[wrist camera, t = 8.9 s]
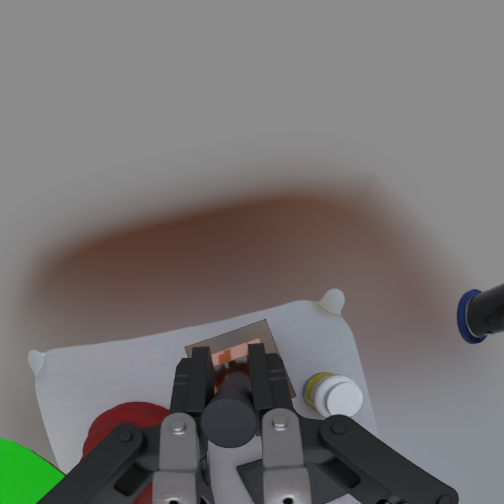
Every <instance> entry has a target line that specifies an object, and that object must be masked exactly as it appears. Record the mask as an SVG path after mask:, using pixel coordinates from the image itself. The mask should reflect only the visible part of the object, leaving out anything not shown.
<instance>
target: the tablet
mask: <svg viewBox="0 0 504 504" xmlns="http://www.w3.org/2000/svg"><path fill="white" fill-rule="evenodd" d="M305 465H306V466H307V469H308V473H309V480H310V488H311V496H312V504H326V503H328V502H330V501H333V500H335V499H337V498H339V497H341V496H344V495H346V494H348V492H346V491H345V490H344V489H343V488H342V487H340V486H339V485H338V484H337V483H336V482H334V481H333V480H332V479H331V478H330V477H329V476H327V475H326V474H325V473H324V472H323V471H322V470H321V469H319V468H318V467H317V466H316V465H315V464H314V463H310V462H305ZM236 469H237V471H238V473H239V475H240V477H241V479H242V481H243V483H244V484H245V486H246V488H247V490H248V492H249V494H250V496H251V497H252V499H253V501H254V503H255V504H264V486H263V459H260V460H257V461H254V462H250V463H247V464H243V465H240V466H237V467H236Z"/></svg>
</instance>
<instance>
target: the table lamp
mask: <svg viewBox="0 0 504 504" xmlns="http://www.w3.org/2000/svg"><path fill="white" fill-rule="evenodd" d="M168 415H169V410H167V409H165V408H163V407H161V406H158V405H154V404H151V403H147V402H128V403H124V404H120V405H117V406H116V407H114V408H112V409H110V410H107V411H106V412H104V413H102V414H101V415H99V416H98V417H97V418H96V419H95V420H94V421H93V423H92V425H91V427H90V429H89V432H88V437H87V439H86V441H85V443H84V446H83V457H82V458H81V460H83V459H84V458H85V457H86V456H87V455H88V454H89V453H90V452H91V451H92V450H93V449H94V448H95V447H96V446H97V445H98V444H99V443H100V442H101V441H102V440H103V439H104V438H105V437H106V436H107V435H108V434H109V433H110V432H111V431H112V430H113V429H114V428H115V427H116V426H118V425H120V424H123V423H131V424H134V425H136V426H137V427H139V429H142V428H147V427H152V426H156V425H158V424H160V423H162V421H163V420H164V419H165V418H166V417H167V416H168ZM81 460H80V461H81ZM65 476H66V474H64V473H63V472H62V471H60V470H59V469H58V468H56V467H55V466H54V465H53V464H51V463H50V462H49V461H47V460H45V459H44V458H42V457H41V456H39V455H38V454H36V453H35V452H33V451H32V450H30V449H28V448H25V447H24V446H22V445H20V444H18V443H16V442H13V441H10V440H6V439H2V438H0V504H36V503H37V502H38V501H39V500H40V499H41V498H42V497H43V496H44V495H46V494H47V493H48V492H49V491H50V490H51V489H52V488H53V487H54V486H55V485H56V484H57V483H58V482H60V481H61V480H62V479H63V478H64V477H65ZM152 483H153V480H152V481H151V482H150V484H149V485H148V486H147V487H146V488H145V489H144V490H143V491H142V493H141V494H140V495H139V496H138V497H137V498H136V499H135V500H134V501H133V503H132V504H152Z"/></svg>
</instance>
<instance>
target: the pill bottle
mask: <svg viewBox="0 0 504 504" xmlns="http://www.w3.org/2000/svg"><path fill="white" fill-rule="evenodd" d="M303 397H304V400H305V402H306V403H307V404H308V405H309V406H310V407H311V408H313V409H314V410H315V411H317V412H318V413H319V414H321V415H322V416H324V417H326V418H327V417H329V416H331V415H336V414H342V415H346V416H348V417H351V416H353V415H354V414H355V413H356V412H357V411H358V410H359V409H360V407H361V405H362V401H363V395H362V392H361V390H360V388H359V387H358V386H357V385H356V383H355V382H354V381H353V380H352V379H351V378H349V377H347V376H343V375H338V374H332V373H326V372H323V373H318V374H315V375H313V376H312V377H310V378H309V379H308V380H307V382H306V383H305V386H304V389H303Z"/></svg>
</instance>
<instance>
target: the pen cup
mask: <svg viewBox="0 0 504 504" xmlns="http://www.w3.org/2000/svg"><path fill="white" fill-rule="evenodd" d="M254 343H261V341H260V338H256V339H253V340H251V341H248V342H245V343H242V344H239V345H237V346H234V347H231V348H228V349H225V350H222V351H219V352H216V353H213V354H211V356H212V361H213V366H214V372H215V394H216V393H217V391H218V390H219V389H220V387H221V386H222V384H223V383H224V382H225V380H226V379H227V377H228V376H229V375H230V374H231V373H232V372H234V371H237V370H240V371H244V372H246V373H247V374H248V375H249V377H250V369H249V356H248V344H254ZM250 381H251V380H250Z"/></svg>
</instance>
